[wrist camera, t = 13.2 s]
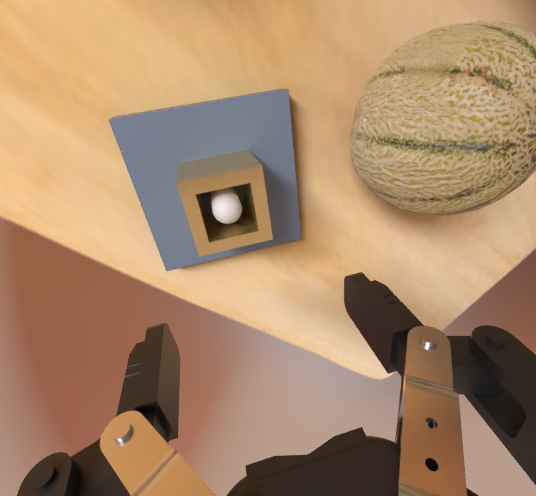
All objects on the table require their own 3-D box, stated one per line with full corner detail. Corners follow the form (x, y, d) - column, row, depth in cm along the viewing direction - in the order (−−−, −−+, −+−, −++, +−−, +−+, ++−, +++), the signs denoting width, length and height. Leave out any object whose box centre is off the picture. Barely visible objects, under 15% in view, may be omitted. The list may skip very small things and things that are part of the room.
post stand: (282, 88, 27) (314, 92, 20) (295, 231, 35) (322, 269, 28) (113, 117, 25) (86, 131, 18) (167, 261, 33) (162, 309, 26)
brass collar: (248, 149, 27) (262, 165, 22) (258, 212, 31) (273, 239, 26) (178, 163, 26) (176, 183, 21) (197, 226, 30) (199, 256, 25)
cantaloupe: (297, 114, 29) (384, 142, 16) (422, -9, 26) (644, -91, 13) (369, 211, 36) (467, 284, 24) (472, 123, 34) (644, 151, 21)
